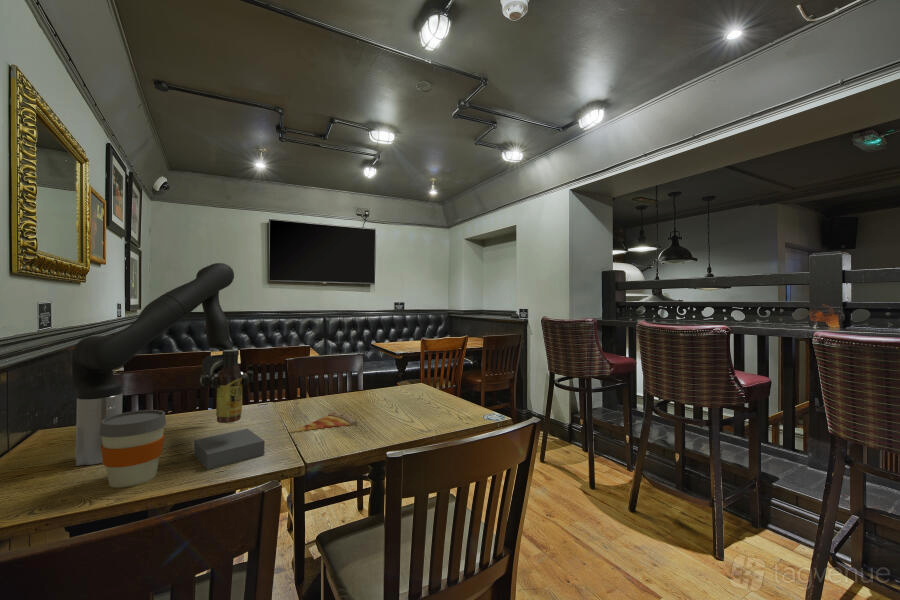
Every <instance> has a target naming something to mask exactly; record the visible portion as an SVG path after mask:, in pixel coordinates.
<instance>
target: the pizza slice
mask: <svg viewBox="0 0 900 600" xmlns="http://www.w3.org/2000/svg"><path fill="white" fill-rule="evenodd" d="M355 424H358V421H357V420H355V419H354V418H353V417H352V416H350V415H348V414H345V413H343V412H342V413H341V412H337V411H329V412H328V414H327V415H326V416H324V417H322V418H319V419H316V420H315V421H312V422H310V423H307V424H305V425H303V426H300V427H299V428H295V429H294V430H291V431H289V434H296V433H295V432H297V433H303V432H302V431H305V432H311V431H310V430H313V431H318V429H321V430H326V429H325V428H329V429H333V428H332V427H337V428H342V427H341V426H345V427H349V426H348V425H354V426H356V425H355ZM339 426H340V427H339Z"/></svg>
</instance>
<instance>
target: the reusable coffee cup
mask: <svg viewBox="0 0 900 600" xmlns="http://www.w3.org/2000/svg"><path fill="white" fill-rule="evenodd" d="M166 425H167V420H166V412H165V411H163V410H159V409H143V410H133V411H127V412H122V413H121V414H117V415H113V416H110V417H107V418H105V419H103V420H102V421H101V426H100V433H99V435H101V436H102V442H103V444H102V445H101V452H102V458H103V463H102V464H103V466H105V468H106V472H107V479H108V486H109V487H112V488H128V487H132V486H133V487H134V486H137V485H140V484H143V483H146V482H148V481H150V480H152V479H154V478H155V477H156V476H157V473H158V468H159V466H158V465H159V460H160V456H161V455H162V453H163V448H164V441H165V435H166V434H164V430H165V426H166Z"/></svg>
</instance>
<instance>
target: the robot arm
mask: <svg viewBox="0 0 900 600" xmlns="http://www.w3.org/2000/svg"><path fill="white" fill-rule="evenodd" d="M234 279H235V272H234V270H233V267H231V266H230V265H228V264H226V263H223V262H217V263H212V264H209V265H207V266H205V267H202V268H201V269H198V271H197V272H196V276H195V279H192V280H191V281H188V282H186V283H184V284H182V285H180V286H177V287H175V288H173V289H171V290H169V291H166V293H163V294H162V295H160V296H159V297H157V298H155V299H154V300H152V301H151V302H149V303H148V304H146V306H144V307H143V309H142V310H141V312H140V314H139V315H138V317H137V319H135V321H133V323H131V324H130V325H128V326H126V327H125V328H124V329H122V330H120V331H118V332H117V333H115V334H113V335H110V336H101V335H94V336H93V335H92V336H87V337H84V338H82V339H81V340H79V341H78V342H77V343H76V344H75V345H74V348H73V351H72V353H71V372H72V374H71V375H72V376H71V379H72V385H73V388H74V390H75V392H76V424H75V457H74V458H75V466H76V467H80V466H91V465H97V464H103V458H102V452H101V445H102V444H103V442H102V436H101V435H99V433H100V426H101V421H102V420H103V419H105V418H107V417H110V416H113V415H117V414H121V413H123V383H122V382H121V381H119V380H118V379H117V378H116V377H115V375H114V370H117V369H120V368H121V367H123V366H124V365H126V364H127V363H128V362H129V361H131V359H132V358H134V357H135V356H136V355H137V354H138V353H139V352H140V351H142V350H143V348H145V347H146V346H147V345H148V344H149V343H151V342H152V341H153V340H154V339H156V338H158V337H159V336H160V335H162V334H163V333H165V332H166V331H167V330H168V329H170V328H172V327H173V326H175V325H176V324H177V323H179V322H180V321H181V320H183V319H184V318H185V317H186V316H188V315H189V314H191V313H192V312H194V310H195V309H197V308H198V307H199V306H200V305H201V306H202V310H203V314H204V322H205V334H206V346H207V347H208V348H209V349H213V350H214V349H215V350H221V351H223V350H233V347H232V342H231V337H230V336H231V335H230V334H231V333H230V324H229V320H228V318H227V316H226V314H225V312H224V311H223V309H222V306H221V303H220V291H222V290H224V289H225V288H228V287H229V286H230V285H231V284H232V283H233V282H234ZM201 368H202V369H201V370H202V372H203V373H202V374H200V377H199V378H200V379H199V383H200V384H201V386H202V387H205V388H208V387H209V386H211V387H212V388H214V389H217V388H218V374H219V372H220V370H221V369H222V368H223V355H222V354H215V355H213V354H211V355H208V356H206V357H205V358H203V360H202V363H201ZM240 372H241V375H242V377H243V381H242V386H247V384H249V383H253V382H254V370H253V369H250V370H248V371H246V372H243V371H241V370H240Z"/></svg>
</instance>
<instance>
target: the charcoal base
mask: <svg viewBox="0 0 900 600" xmlns="http://www.w3.org/2000/svg"><path fill="white" fill-rule="evenodd" d="M193 455H194V456H195V457H196V459H197V460H198V461H199V462H200V463H201V465H203V467H204V466H205V467H204V468H205V469H206V470H207V471H208V470H209V471H210V470H213V469H216V468H220V467H224V466H228V465H231V464H235V463H239V462H242V461H246V460H250V459H254V458H258V457H262V456H265V439H263V438H261V436H259V435H257V434H256V433H255V432H253V431H252V430H250V429H249V428H245V429H240V430H235V431H231V432H230V431H229V432H225V433H221V434H217V435H212V436H206V437H202V438H198V439H194V441H193Z"/></svg>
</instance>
